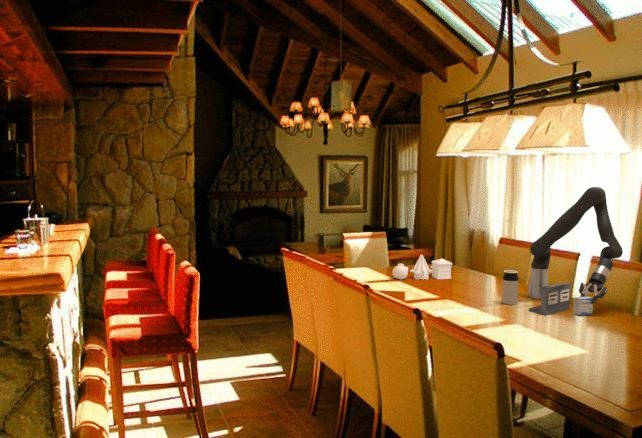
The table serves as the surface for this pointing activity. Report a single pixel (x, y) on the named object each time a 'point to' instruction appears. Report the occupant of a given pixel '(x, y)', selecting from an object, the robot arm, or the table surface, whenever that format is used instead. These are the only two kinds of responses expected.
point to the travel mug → (510, 287)
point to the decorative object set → (425, 269)
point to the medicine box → (583, 306)
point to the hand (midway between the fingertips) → (586, 301)
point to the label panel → (553, 299)
